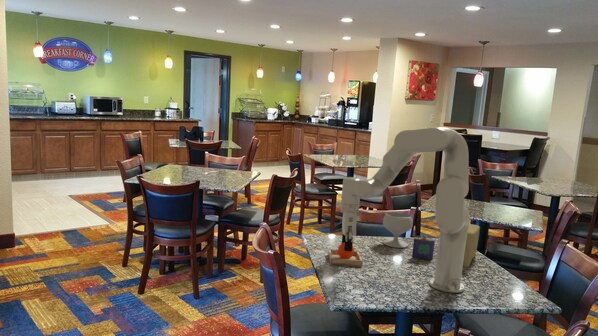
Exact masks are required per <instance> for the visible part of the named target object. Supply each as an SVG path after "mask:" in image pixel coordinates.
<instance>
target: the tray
mask: <svg viewBox="0 0 598 336" xmlns="http://www.w3.org/2000/svg"><path fill="white" fill-rule="evenodd" d="M327 256H328V259H329V260H328V261H329V263H330V264H329V265H330V266H344V267H354V268H355V267H357V268H358V267H360V268H363V266H364V265H363V263H364V262H363V261H364V260H363V259H362V256H361V254H360V252H359V250H358V251H356V250H354V254H353V256H352V257H351V258H349V259H343V258H341V257H340V256H339V254H338V249H331V248H328V253H327Z"/></svg>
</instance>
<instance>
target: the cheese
mask: <svg viewBox="0 0 598 336" xmlns="http://www.w3.org/2000/svg"><path fill="white" fill-rule="evenodd" d="M480 229H481V227H480V226H479V225H478V224H471V223H469V228H468V233H467V238H466V245H465V252H464V260H463V267H465V268H469V267H470V265H471V262H472V260H473V259H474V258H475V256H476V254H477V249H478V244H479V237H480Z"/></svg>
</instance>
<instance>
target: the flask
mask: <svg viewBox="0 0 598 336" xmlns="http://www.w3.org/2000/svg"><path fill="white" fill-rule="evenodd" d="M435 242H436V240H435V239H433V238H431V239H430V238H428V236H427V235H425V234H424V235H423V236H422V237H419V236H418V237H414V238H413V244H412V245H413V247H412V255H411V257H412V258H411V259H416V260H424V261H426V260H427V261H428V260H429V261H433V259H434V252H435V244H436V243H435Z"/></svg>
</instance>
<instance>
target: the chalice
mask: <svg viewBox="0 0 598 336" xmlns="http://www.w3.org/2000/svg"><path fill="white" fill-rule="evenodd" d="M382 225H383V227H384V228H385V229H386V230H388V232H391V234H393V239H387V240H386V239H385V240H384V241H383V242H382V244H383V245H385V246H388V247H390V248H396V249H403V248H404V249H405V248H408V247H409V244H407V243H406V242H404V241H400V240H399V236H401V235H403V234H405V233H407V232H409V231H411V229H412V228H413V218H412V216H411V215H410V214H408V213H405V212H399V211H388V212H386V213H385V215H384V217H383V220H382Z"/></svg>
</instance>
